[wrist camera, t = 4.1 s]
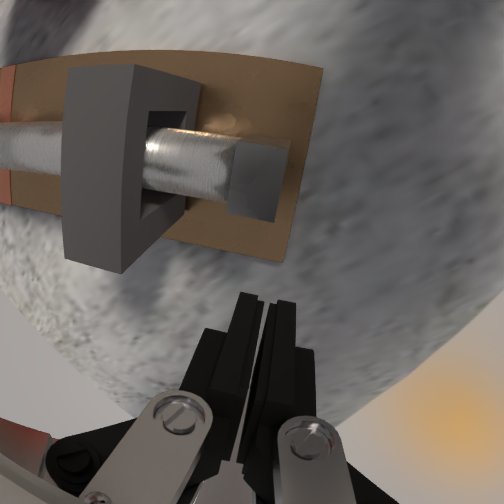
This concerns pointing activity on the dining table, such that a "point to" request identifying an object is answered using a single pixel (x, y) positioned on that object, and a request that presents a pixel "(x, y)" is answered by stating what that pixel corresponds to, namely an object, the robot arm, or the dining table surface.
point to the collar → (117, 160)
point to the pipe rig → (181, 143)
